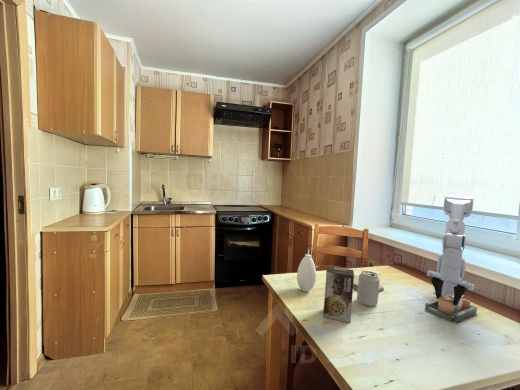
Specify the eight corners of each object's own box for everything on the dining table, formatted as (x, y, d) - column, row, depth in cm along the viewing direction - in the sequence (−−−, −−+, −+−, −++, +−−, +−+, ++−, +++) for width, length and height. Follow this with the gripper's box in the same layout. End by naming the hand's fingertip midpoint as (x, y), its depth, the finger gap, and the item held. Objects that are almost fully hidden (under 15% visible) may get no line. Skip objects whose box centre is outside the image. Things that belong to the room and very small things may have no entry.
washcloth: (350, 277, 128) (351, 271, 128) (385, 291, 113) (385, 284, 113) (335, 281, 121) (335, 275, 121) (369, 297, 107) (370, 289, 106)
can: (379, 309, 95) (382, 277, 95) (358, 305, 97) (361, 275, 96) (374, 300, 103) (377, 271, 102) (355, 297, 104) (357, 268, 103)
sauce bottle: (317, 295, 104) (320, 251, 102) (298, 294, 103) (301, 250, 102) (311, 287, 111) (315, 246, 110) (294, 286, 111) (297, 245, 110)
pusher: (448, 303, 104) (449, 292, 104) (470, 311, 98) (471, 300, 97) (445, 304, 103) (446, 293, 103) (467, 312, 97) (469, 301, 96)
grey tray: (445, 301, 106) (446, 295, 106) (476, 313, 97) (477, 307, 97) (424, 309, 97) (424, 303, 97) (455, 323, 88) (456, 316, 88)
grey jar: (448, 306, 102) (450, 292, 101) (463, 312, 97) (465, 298, 97) (442, 308, 99) (444, 294, 99) (457, 315, 95) (459, 300, 95)
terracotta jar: (440, 308, 99) (442, 294, 98) (455, 314, 95) (457, 299, 94) (435, 311, 96) (436, 296, 96) (450, 317, 92) (452, 302, 91)
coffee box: (350, 314, 90) (354, 269, 89) (350, 323, 84) (354, 275, 83) (323, 308, 93) (327, 265, 92) (322, 316, 87) (326, 270, 86)
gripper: (424, 260, 98) (420, 294, 99) (469, 274, 86) (465, 312, 87) (433, 259, 102) (430, 292, 103) (478, 271, 90) (474, 308, 90)
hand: (446, 301), depth 95 cm, fingers closed on terracotta jar, 5 cm apart
